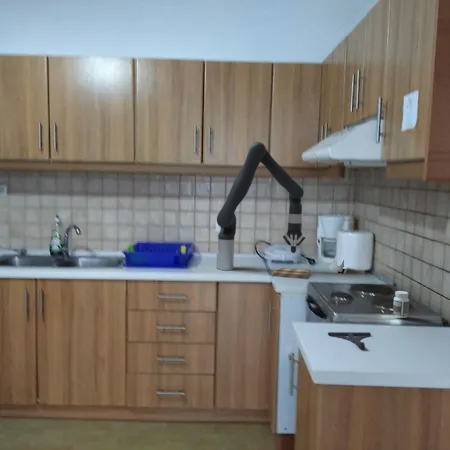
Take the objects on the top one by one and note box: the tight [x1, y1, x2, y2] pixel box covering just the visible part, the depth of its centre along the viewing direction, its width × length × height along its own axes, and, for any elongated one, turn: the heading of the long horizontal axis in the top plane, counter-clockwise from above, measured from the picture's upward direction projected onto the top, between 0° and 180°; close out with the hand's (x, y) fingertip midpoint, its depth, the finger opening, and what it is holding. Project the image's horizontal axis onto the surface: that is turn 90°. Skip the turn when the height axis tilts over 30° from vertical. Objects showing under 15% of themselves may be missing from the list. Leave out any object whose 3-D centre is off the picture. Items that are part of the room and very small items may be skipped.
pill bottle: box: [392, 290, 410, 316], centre depth 189 cm, size 6×6×10 cm
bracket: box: [327, 331, 372, 351], centre depth 160 cm, size 14×15×3 cm
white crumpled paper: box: [328, 255, 348, 274], centre depth 281 cm, size 17×5×10 cm, turn 4°
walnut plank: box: [271, 269, 309, 280], centre depth 262 cm, size 18×7×2 cm, turn 73°
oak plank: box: [275, 266, 311, 276], centre depth 270 cm, size 18×7×2 cm, turn 73°
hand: (293, 252), depth 272 cm, fingers closed
